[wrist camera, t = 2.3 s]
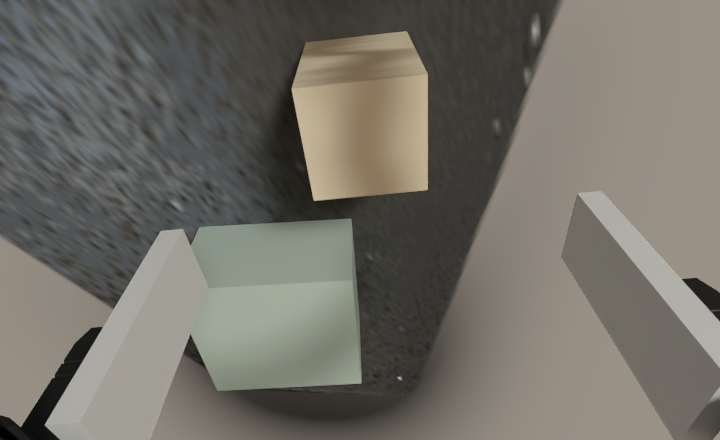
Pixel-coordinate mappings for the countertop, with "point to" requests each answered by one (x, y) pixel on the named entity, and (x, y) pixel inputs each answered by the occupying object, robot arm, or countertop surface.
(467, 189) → the countertop surface
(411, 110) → the maple block
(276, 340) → the sage block
